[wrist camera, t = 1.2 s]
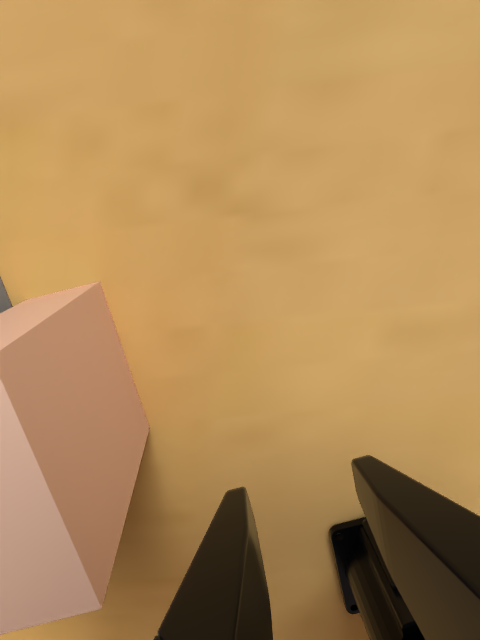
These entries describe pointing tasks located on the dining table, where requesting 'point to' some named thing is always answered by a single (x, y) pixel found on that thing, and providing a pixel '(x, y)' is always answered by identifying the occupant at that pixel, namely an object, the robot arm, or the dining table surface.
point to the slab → (63, 454)
